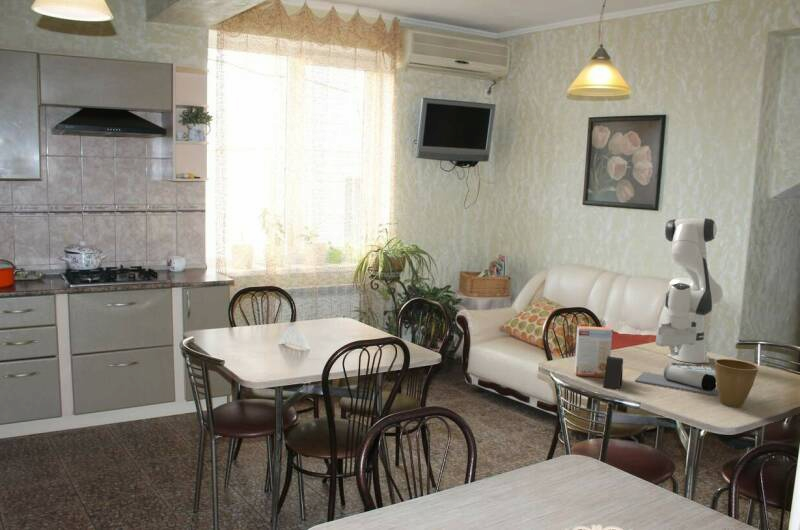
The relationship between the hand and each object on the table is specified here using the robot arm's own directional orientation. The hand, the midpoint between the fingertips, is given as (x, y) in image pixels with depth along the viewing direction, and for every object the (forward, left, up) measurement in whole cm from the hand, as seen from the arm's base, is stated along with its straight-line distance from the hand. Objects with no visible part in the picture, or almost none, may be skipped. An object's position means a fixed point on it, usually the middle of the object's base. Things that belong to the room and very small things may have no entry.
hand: (674, 355), depth 294 cm
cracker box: (+10, -31, -12) cm, 35 cm away
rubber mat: (0, +3, -12) cm, 12 cm away
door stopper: (+21, -19, -12) cm, 31 cm away
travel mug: (-3, -3, -8) cm, 9 cm away
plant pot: (+16, +25, -12) cm, 32 cm away
